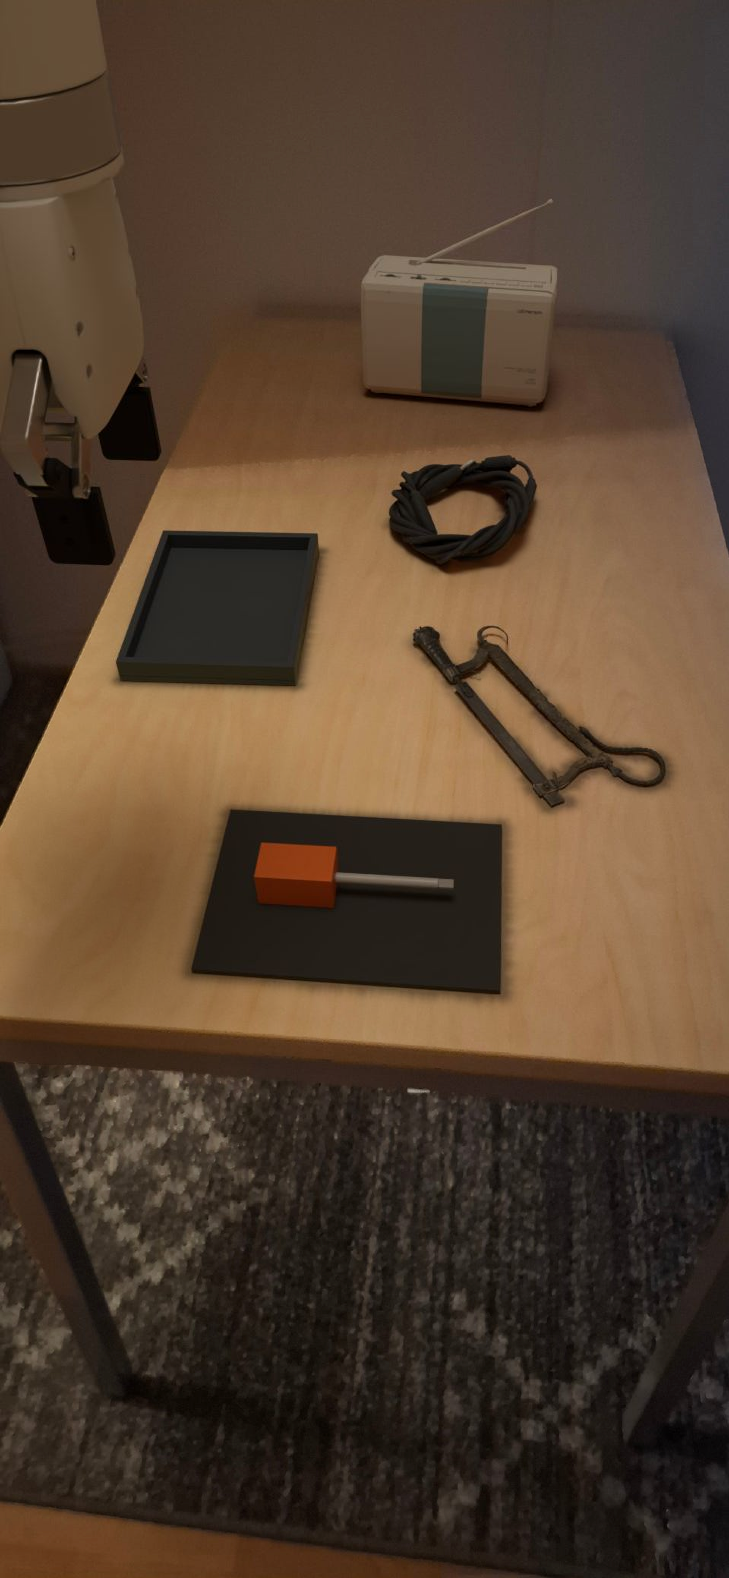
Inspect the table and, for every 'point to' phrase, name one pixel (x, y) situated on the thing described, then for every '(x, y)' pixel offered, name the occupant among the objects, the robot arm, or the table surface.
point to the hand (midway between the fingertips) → (110, 506)
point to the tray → (222, 609)
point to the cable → (431, 479)
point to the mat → (361, 905)
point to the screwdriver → (316, 876)
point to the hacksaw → (540, 783)
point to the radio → (458, 327)
